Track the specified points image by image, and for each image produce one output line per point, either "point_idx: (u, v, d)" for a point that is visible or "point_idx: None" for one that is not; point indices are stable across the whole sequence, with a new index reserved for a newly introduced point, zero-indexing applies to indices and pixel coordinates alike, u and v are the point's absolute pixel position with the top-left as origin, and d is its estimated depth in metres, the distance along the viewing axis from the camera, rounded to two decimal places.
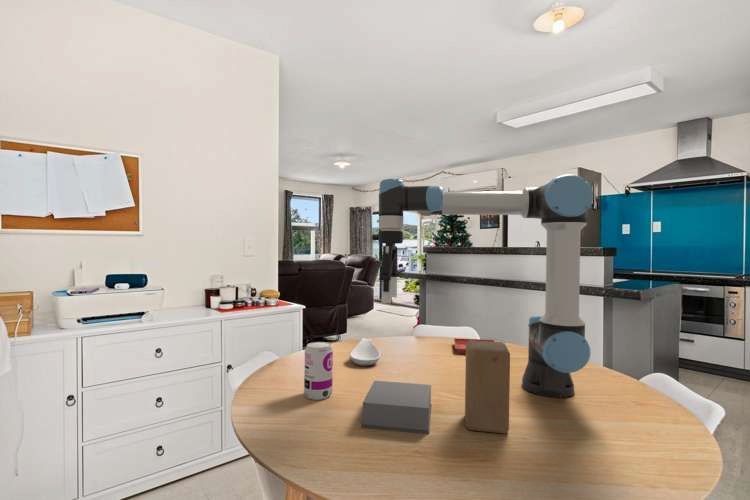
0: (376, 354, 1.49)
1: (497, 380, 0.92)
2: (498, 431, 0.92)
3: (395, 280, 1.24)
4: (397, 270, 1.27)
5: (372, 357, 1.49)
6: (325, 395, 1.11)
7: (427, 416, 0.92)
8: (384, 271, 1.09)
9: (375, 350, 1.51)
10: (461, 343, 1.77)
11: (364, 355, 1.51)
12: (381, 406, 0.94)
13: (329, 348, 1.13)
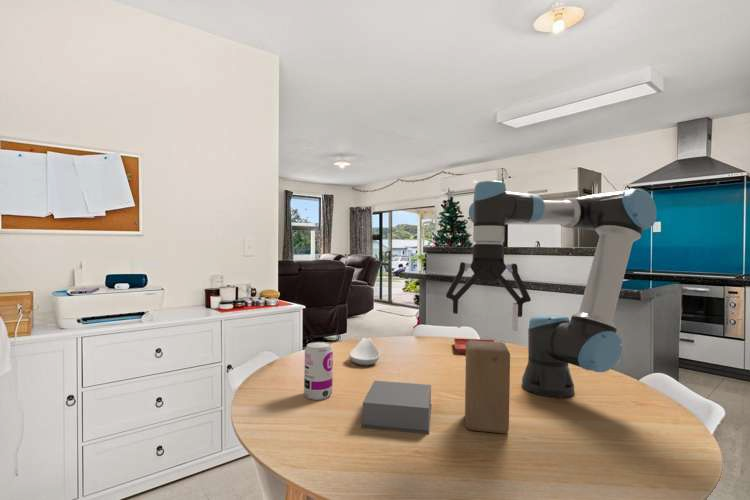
0: (376, 354, 1.49)
1: (497, 380, 0.92)
2: (498, 431, 0.92)
3: (514, 308, 0.95)
4: (526, 296, 0.94)
5: (372, 357, 1.50)
6: (325, 395, 1.11)
7: (427, 416, 0.92)
8: None
9: (375, 350, 1.51)
10: (461, 343, 1.77)
11: (364, 354, 1.51)
12: (381, 406, 0.94)
13: (329, 348, 1.13)
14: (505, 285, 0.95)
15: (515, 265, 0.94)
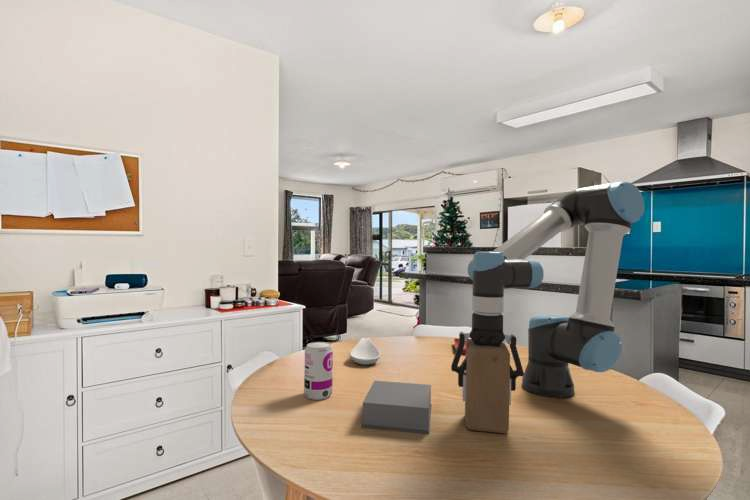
0: (376, 353, 1.50)
1: (497, 380, 0.92)
2: (498, 431, 0.92)
3: None
4: (519, 370, 0.94)
5: (372, 356, 1.50)
6: (325, 395, 1.11)
7: (427, 416, 0.92)
8: (452, 362, 0.99)
9: (375, 349, 1.51)
10: None
11: (364, 354, 1.52)
12: (381, 406, 0.94)
13: (329, 348, 1.13)
14: None
15: (514, 338, 0.95)
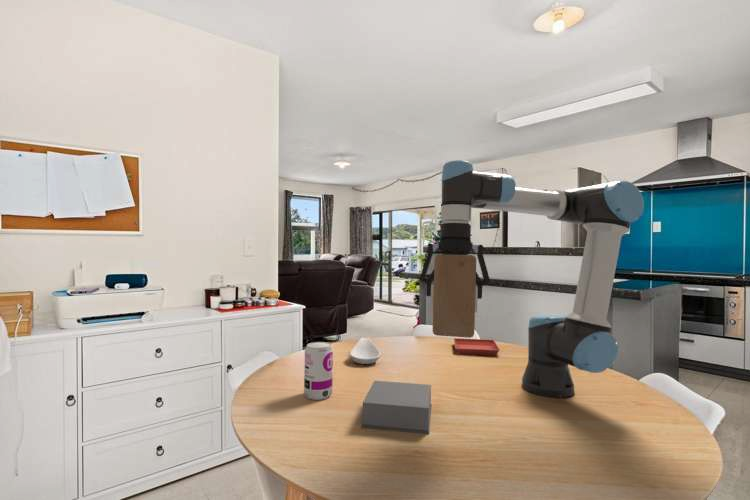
0: (376, 353, 1.50)
1: (463, 284, 0.93)
2: (463, 335, 0.93)
3: None
4: (486, 278, 0.96)
5: (372, 356, 1.51)
6: (325, 395, 1.11)
7: (427, 416, 0.92)
8: None
9: (374, 349, 1.52)
10: (461, 343, 1.77)
11: (363, 354, 1.52)
12: (381, 406, 0.94)
13: (329, 348, 1.13)
14: None
15: (481, 246, 0.96)
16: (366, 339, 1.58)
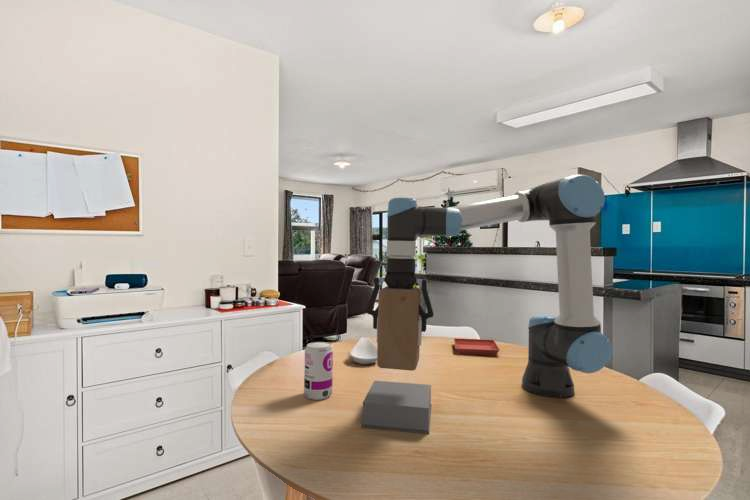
0: (376, 353, 1.51)
1: (405, 319, 0.95)
2: (406, 368, 0.96)
3: None
4: (429, 311, 0.98)
5: (372, 356, 1.51)
6: (325, 395, 1.11)
7: (427, 416, 0.92)
8: None
9: (374, 349, 1.52)
10: (461, 343, 1.77)
11: (363, 353, 1.53)
12: (381, 406, 0.94)
13: (329, 348, 1.13)
14: None
15: (425, 281, 0.98)
16: (366, 339, 1.58)
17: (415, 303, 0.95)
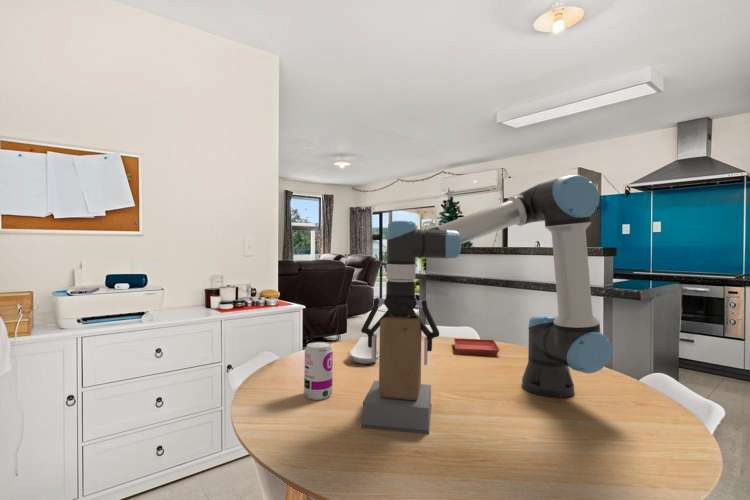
0: None
1: (407, 349, 0.96)
2: (408, 398, 0.96)
3: (424, 342, 0.99)
4: (434, 331, 0.98)
5: (371, 355, 1.51)
6: (325, 395, 1.11)
7: (427, 416, 0.92)
8: None
9: None
10: (461, 343, 1.77)
11: (363, 353, 1.53)
12: (381, 406, 0.94)
13: (329, 348, 1.13)
14: None
15: (424, 302, 0.98)
16: (366, 339, 1.59)
17: (416, 333, 0.95)
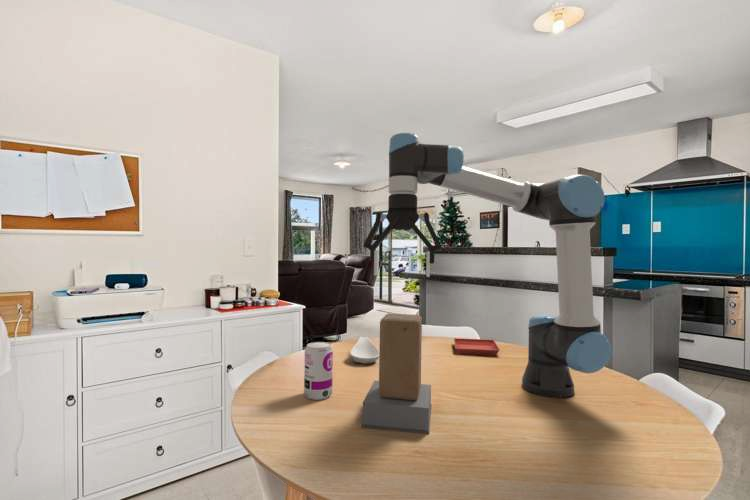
0: (375, 352, 1.52)
1: (407, 349, 0.96)
2: (408, 398, 0.96)
3: None
4: (437, 243, 0.98)
5: (371, 355, 1.52)
6: (325, 395, 1.11)
7: (427, 416, 0.92)
8: None
9: (374, 348, 1.53)
10: (461, 343, 1.77)
11: (363, 353, 1.53)
12: (381, 406, 0.94)
13: (329, 348, 1.13)
14: (418, 233, 0.99)
15: (427, 214, 0.99)
16: (365, 338, 1.59)
17: (417, 333, 0.95)
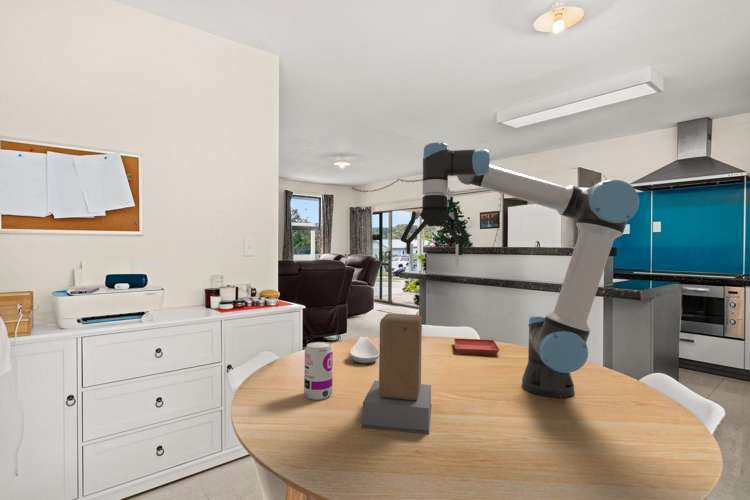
0: (375, 352, 1.52)
1: (407, 349, 0.96)
2: (408, 398, 0.96)
3: None
4: (465, 237, 1.14)
5: (371, 355, 1.52)
6: (325, 395, 1.11)
7: (427, 416, 0.92)
8: None
9: (374, 348, 1.54)
10: (461, 343, 1.77)
11: (363, 353, 1.54)
12: (381, 406, 0.94)
13: (329, 348, 1.13)
14: (448, 229, 1.15)
15: (456, 212, 1.15)
16: (365, 338, 1.59)
17: (416, 333, 0.95)
